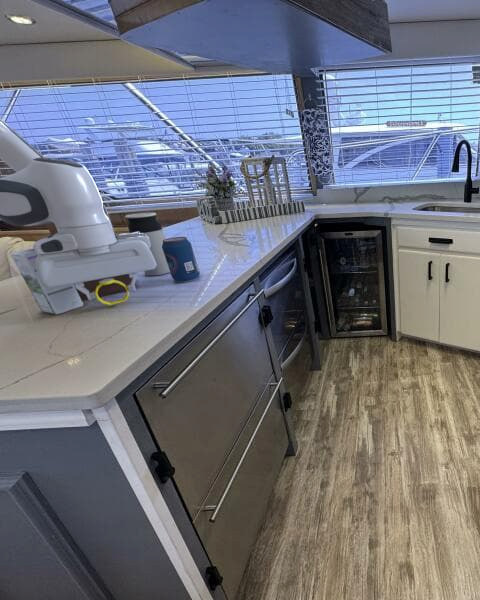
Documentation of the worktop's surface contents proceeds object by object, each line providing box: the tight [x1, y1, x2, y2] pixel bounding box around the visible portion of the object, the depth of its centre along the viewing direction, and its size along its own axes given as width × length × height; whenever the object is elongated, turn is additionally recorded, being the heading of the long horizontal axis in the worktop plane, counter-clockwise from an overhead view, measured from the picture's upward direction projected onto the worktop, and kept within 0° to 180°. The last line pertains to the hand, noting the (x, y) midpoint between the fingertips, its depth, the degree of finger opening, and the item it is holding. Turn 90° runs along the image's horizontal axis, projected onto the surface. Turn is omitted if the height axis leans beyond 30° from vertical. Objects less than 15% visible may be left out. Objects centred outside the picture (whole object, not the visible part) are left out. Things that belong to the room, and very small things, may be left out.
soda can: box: [162, 236, 201, 284], centre depth 92 cm, size 7×7×12 cm
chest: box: [74, 274, 136, 301], centre depth 87 cm, size 12×13×9 cm
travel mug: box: [124, 212, 171, 277], centre depth 98 cm, size 8×8×18 cm
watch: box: [95, 278, 130, 306], centre depth 76 cm, size 6×3×6 cm, turn 132°
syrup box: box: [9, 248, 84, 315], centre depth 74 cm, size 6×6×14 cm
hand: (113, 294), depth 77 cm, fingers closed on watch, 6 cm apart
